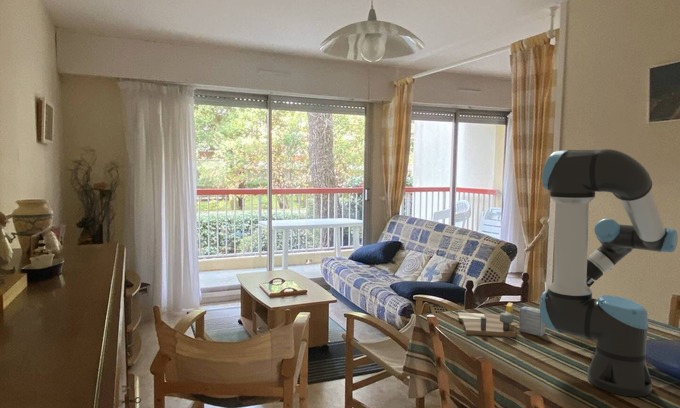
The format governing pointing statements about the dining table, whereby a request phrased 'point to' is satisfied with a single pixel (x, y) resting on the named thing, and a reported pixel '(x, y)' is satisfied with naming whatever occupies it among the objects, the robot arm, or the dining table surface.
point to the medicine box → (531, 321)
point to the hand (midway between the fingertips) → (549, 305)
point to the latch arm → (507, 314)
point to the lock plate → (490, 327)
